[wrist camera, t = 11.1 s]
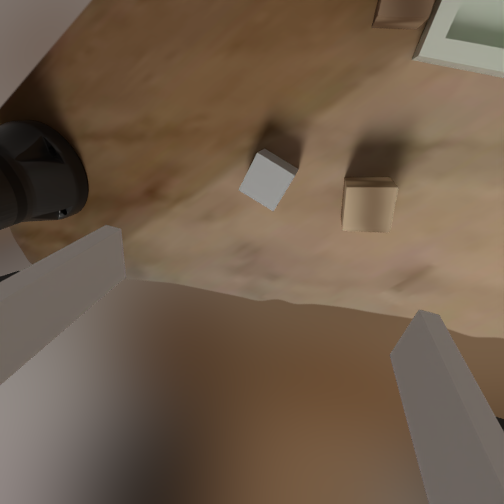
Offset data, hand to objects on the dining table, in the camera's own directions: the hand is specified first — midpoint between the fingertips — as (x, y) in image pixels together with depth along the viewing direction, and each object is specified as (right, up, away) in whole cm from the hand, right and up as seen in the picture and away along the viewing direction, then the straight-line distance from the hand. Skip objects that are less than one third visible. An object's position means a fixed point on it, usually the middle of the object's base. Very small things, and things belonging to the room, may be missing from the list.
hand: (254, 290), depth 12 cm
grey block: (+3, +12, +23) cm, 26 cm away
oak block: (+14, +8, +21) cm, 27 cm away
